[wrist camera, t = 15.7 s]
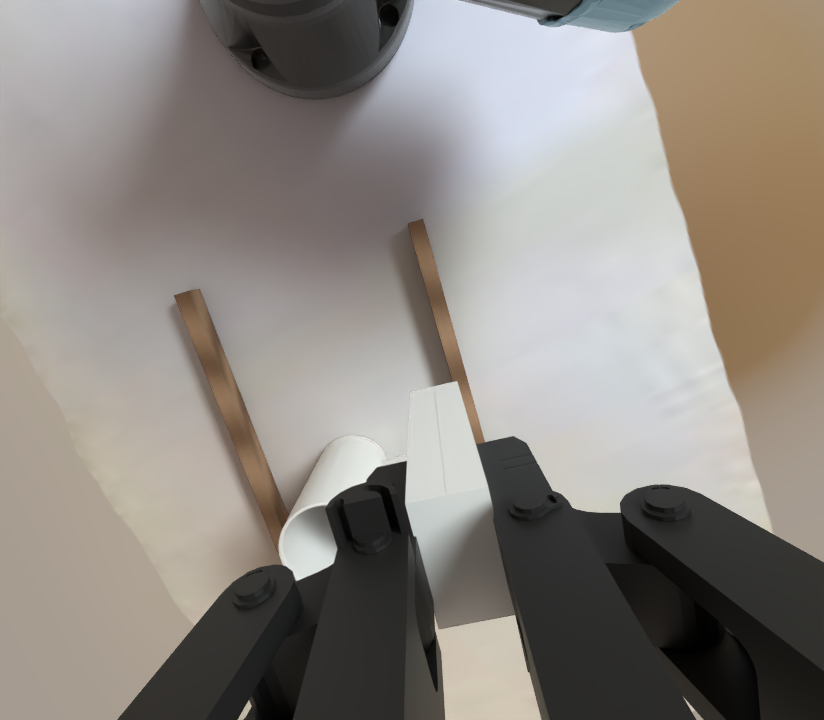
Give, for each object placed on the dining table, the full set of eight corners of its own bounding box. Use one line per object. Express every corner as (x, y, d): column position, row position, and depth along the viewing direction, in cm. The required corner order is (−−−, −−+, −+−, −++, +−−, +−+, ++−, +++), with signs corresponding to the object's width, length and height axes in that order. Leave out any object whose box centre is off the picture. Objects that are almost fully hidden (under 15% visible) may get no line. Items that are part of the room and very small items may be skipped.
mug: (335, 510, 43) (305, 607, 31) (303, 448, 42) (259, 524, 30) (436, 472, 42) (444, 556, 30) (407, 406, 41) (403, 469, 29)
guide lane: (186, 293, 39) (173, 295, 37) (422, 220, 37) (422, 219, 35) (284, 540, 44) (278, 554, 42) (496, 485, 42) (499, 496, 40)
